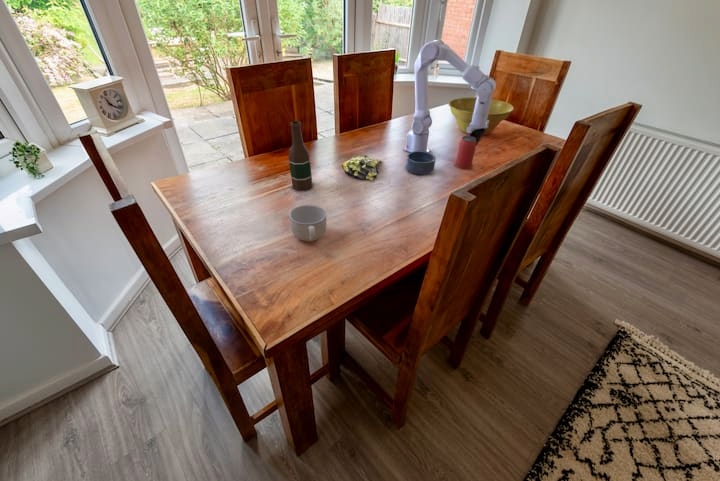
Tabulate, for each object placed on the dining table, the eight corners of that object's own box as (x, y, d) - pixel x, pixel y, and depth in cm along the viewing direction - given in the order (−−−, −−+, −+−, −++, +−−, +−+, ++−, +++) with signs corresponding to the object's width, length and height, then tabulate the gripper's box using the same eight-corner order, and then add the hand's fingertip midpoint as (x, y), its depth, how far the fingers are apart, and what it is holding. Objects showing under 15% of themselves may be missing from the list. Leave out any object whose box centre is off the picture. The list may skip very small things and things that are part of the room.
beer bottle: (316, 183, 124) (310, 120, 110) (307, 192, 119) (300, 127, 104) (298, 180, 126) (290, 117, 112) (288, 189, 121) (279, 124, 106)
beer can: (471, 170, 134) (478, 141, 127) (455, 168, 135) (461, 140, 128) (470, 163, 139) (476, 136, 132) (455, 162, 140) (460, 134, 133)
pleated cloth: (357, 158, 145) (362, 144, 142) (388, 175, 142) (394, 161, 138) (335, 168, 130) (339, 153, 126) (369, 187, 126) (374, 173, 122)
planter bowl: (442, 120, 186) (446, 95, 178) (499, 122, 183) (506, 97, 175) (446, 140, 161) (451, 112, 153) (513, 143, 158) (521, 115, 149)
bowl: (400, 169, 135) (401, 156, 131) (417, 161, 141) (418, 149, 138) (422, 178, 128) (424, 165, 125) (439, 169, 135) (441, 157, 131)
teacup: (293, 225, 102) (290, 204, 97) (328, 224, 103) (326, 202, 98) (289, 254, 91) (286, 231, 86) (328, 252, 92) (326, 229, 87)
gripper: (481, 118, 121) (473, 153, 129) (499, 111, 129) (490, 144, 138) (464, 114, 125) (457, 148, 133) (483, 107, 133) (475, 139, 142)
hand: (473, 145), depth 136 cm, fingers closed
